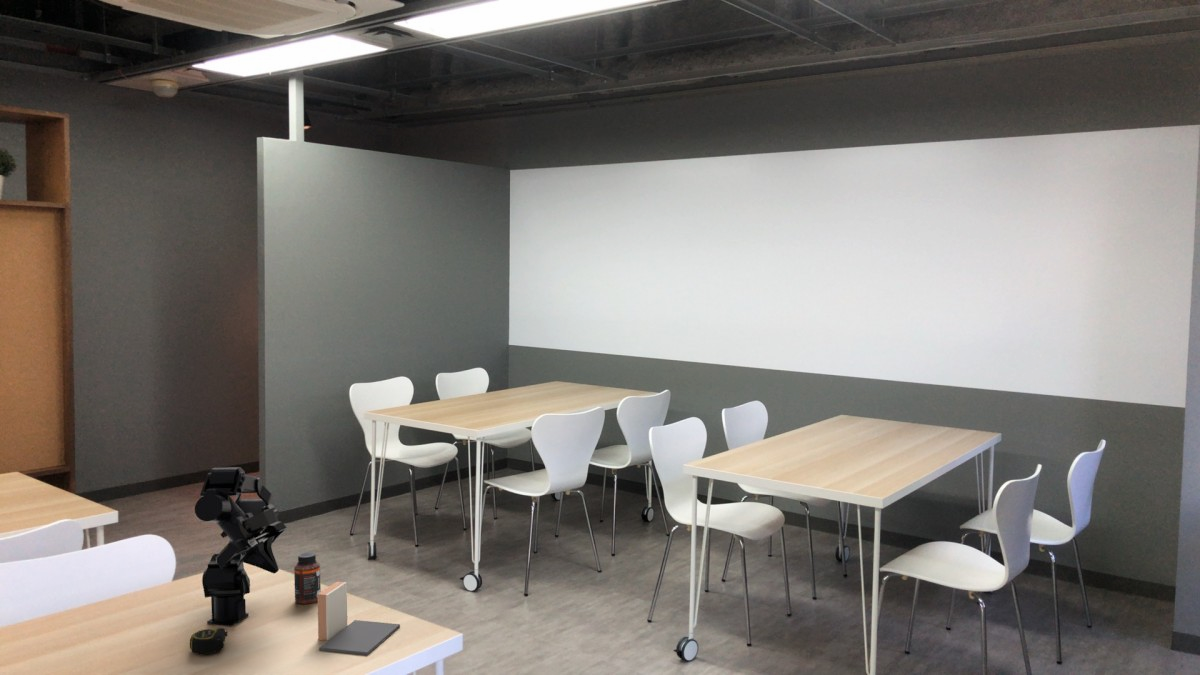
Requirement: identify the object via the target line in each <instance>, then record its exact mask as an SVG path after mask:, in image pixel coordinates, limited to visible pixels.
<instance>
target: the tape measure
mask: <svg viewBox="0 0 1200 675" xmlns="http://www.w3.org/2000/svg"><path fill="white" fill-rule="evenodd" d="M227 636H228V631H226V629H225V628H224V627H219V628H206V629H200V630H198V631H196V632H194V633H192V634H191V637H190V639H189V649H190V651H191V652H192V654H196V655H208V654H214V653H218V652H220V651H223V650H224V646H225V641H226V637H227Z"/></svg>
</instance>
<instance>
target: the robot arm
mask: <svg viewBox="0 0 1200 675" xmlns="http://www.w3.org/2000/svg"><path fill="white" fill-rule="evenodd" d="M242 494H256V496H258V498H242V499H241V496H242ZM232 497H236V498H235V500H234V499H233V498H232ZM279 512H280V511H279V510H278V509H277V507H275V506H274V501H273V495H272V493H271V492H270V490H269V489H267V488H266V487H265V486H264V485H263V481H262V478H261V477H258V476H252V475H248V474H246V472H245V470H244V469H243V468H242V467H241V466H238V467H237V466H236V467H235V466H233V467H213V468H211V469H210V472H208V473H207V475H206V477H205V479H204V483H203V485H202V489H201V491H200V497H199V499H198V500H197V501H196V503H195V505H194V514H195V515H196V517H197V518H198V519H199V520H201V521H203V522H207V523H208V522H209V523H215V524H216V525H217V526H218V527H219V528H220V529H221V531H222V532H221V533H220V536H221V537H222V539H224V538H226V537H227V538H228V539H229V541H228V543H227V544H226V545H225V546H224V547H223V549H222V550H221V551H220V552H219V553H214V554H213V555H211V559H210V561H209V563H208V564H207V567H206V569H205V570H204V571H203V573H202V578H201V581H202V582H201V583H202V588H203V594H204V598H206V599H207V598H210V600H211V604H210V607H211V618H210V619H208V620H207V621H206V624H207V625H217V626H218V625H219V626H227V627H228V626H229V627H232V626H235V625H236V624H237V623H239V622H240V621H242V620H244V619H246V618H247V617H249V613H248V612H247V610H246V607H247V605H246V599H245V595H247V594H249V593H250V592H251V579H250V577H249V576H248V573H247V571H246V570H245V566H244V563H245V564H247V565H251V566H253V567H256V568H259V569H261V570H263V571H267V572H269V573H271V574H276V573H278V572H279V570H280V569H279V566H278V563H277V561H276V558H275V556H274V552H273V548H272V545H273V543H274V542H275V541H277V539H278V538H279V537H280V536H281V535H282V534H283V533H284V532H285V531H286V530H287V529H288V528H287V526H286V525H285V524H284V523H283V522H282V521H279V520H278V518H277V517H278V516H279Z"/></svg>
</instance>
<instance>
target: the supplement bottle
mask: <svg viewBox="0 0 1200 675" xmlns="http://www.w3.org/2000/svg"><path fill="white" fill-rule="evenodd" d="M297 557H298V558H297V561H298V562H297V563H296V564H295V565H294V568H293V569H294V570H293V571H294V572H293V574H294V575H293V576H294V600H295V602H296V603H297V604H299V605H309V604H313V603H317V602H318V595H317V594H318V593H320V592H321V591H322V590H321V564H320V562H319V561H318V560H317V558H316V553H315V552H310V551H309V552H308V551H307V552H302V553H299V554H298V555H297Z"/></svg>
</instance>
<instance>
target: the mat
mask: <svg viewBox="0 0 1200 675" xmlns="http://www.w3.org/2000/svg"><path fill="white" fill-rule="evenodd" d="M400 627H401V624H400V623H388V622H381V621H371V620H370V621H368V620H360V619H359V620H358V619H355V620H353V621H352V622H350V623H349V624H347V627H345V628H344V629H343V630H341V631H340V632H339V633H337V634H336V635H335V636H334V637H332V638H331V639H330V640H326V641H325V643H323V644H322V645H320V646H319V647H318V650H319V651H324V652H333V653H344V654H352V655H361V656H368V655H370V653H372V652H373V651H374V650H375V649H376V648H378V646H380V644H382V643H383V642H384V641H386V640H387V638H389V637H390V636H391V635H392V634H394V633H395V632H396V631H397V630H398V629H399V628H400Z"/></svg>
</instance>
